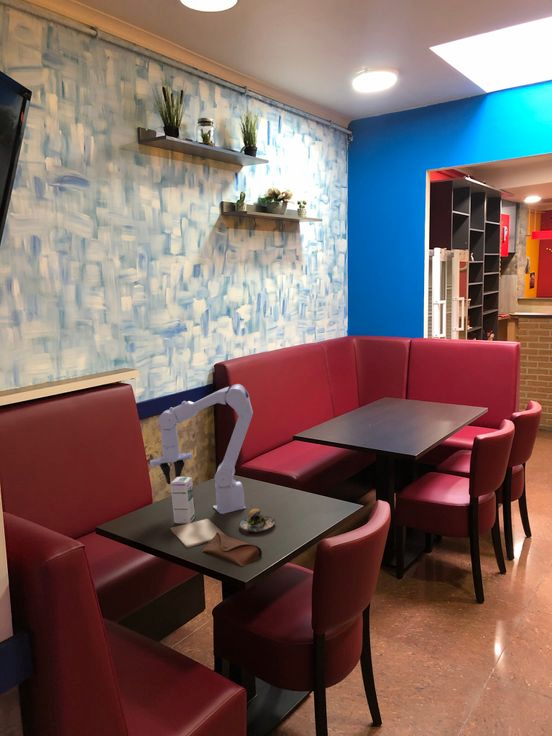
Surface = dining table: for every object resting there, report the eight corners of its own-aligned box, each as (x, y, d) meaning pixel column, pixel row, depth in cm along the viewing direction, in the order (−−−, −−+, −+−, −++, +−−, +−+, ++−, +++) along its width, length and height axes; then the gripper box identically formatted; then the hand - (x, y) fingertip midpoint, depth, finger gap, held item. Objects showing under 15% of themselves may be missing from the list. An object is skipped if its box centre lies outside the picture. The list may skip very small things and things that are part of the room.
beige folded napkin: (207, 520, 197) (207, 518, 196) (226, 537, 182) (226, 535, 182) (170, 529, 191) (170, 527, 190) (187, 547, 177) (186, 546, 176)
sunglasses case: (198, 551, 174) (205, 529, 176) (213, 554, 179) (219, 532, 181) (243, 567, 163) (250, 543, 164) (258, 570, 168) (264, 547, 170)
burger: (245, 538, 182) (244, 515, 180) (234, 524, 192) (232, 503, 191) (281, 530, 186) (280, 508, 185) (268, 517, 197) (267, 496, 196)
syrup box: (190, 524, 194) (187, 482, 192) (173, 523, 195) (170, 481, 193) (196, 517, 200) (192, 476, 197) (179, 516, 201) (176, 476, 199)
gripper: (186, 438, 209) (188, 475, 212) (146, 446, 203) (149, 483, 205) (192, 443, 203) (195, 480, 205) (152, 450, 197) (155, 489, 199)
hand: (173, 482), depth 205 cm, fingers open, 3 cm apart
